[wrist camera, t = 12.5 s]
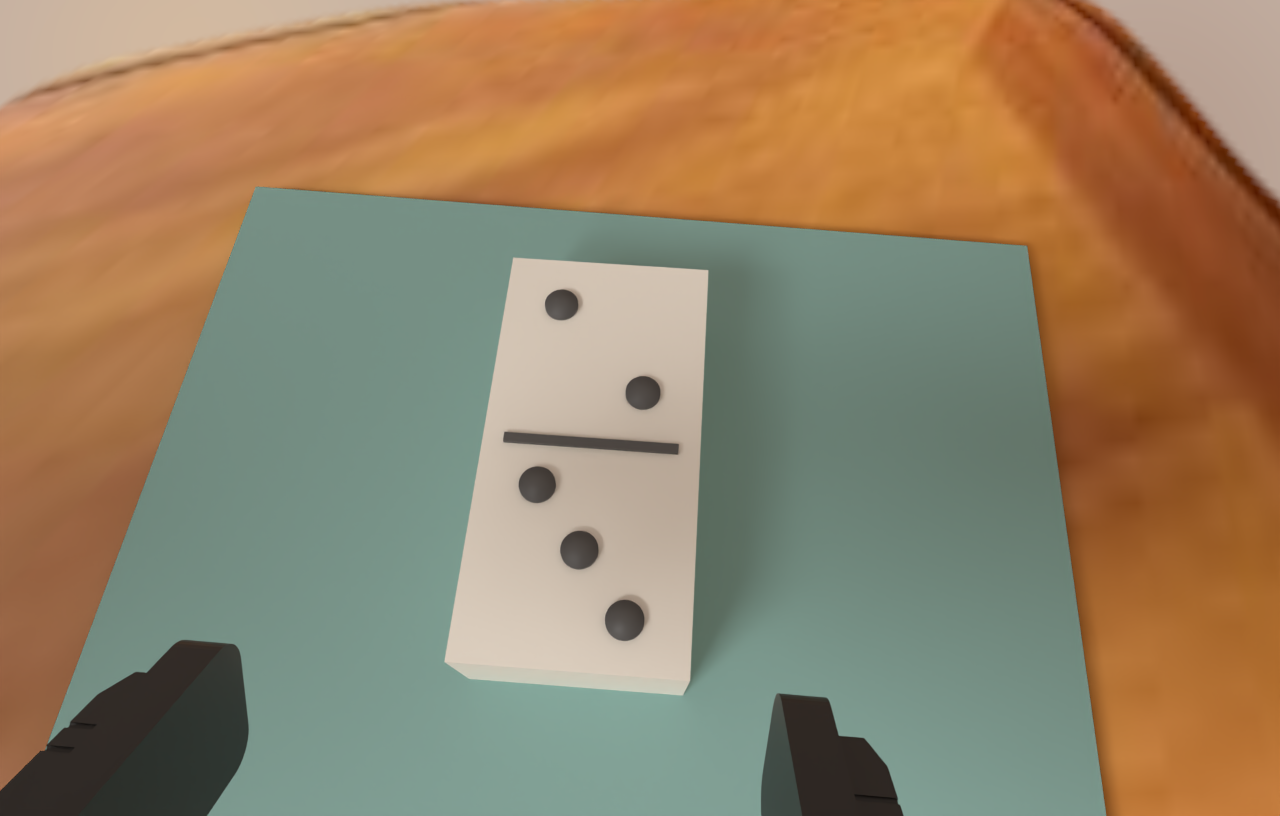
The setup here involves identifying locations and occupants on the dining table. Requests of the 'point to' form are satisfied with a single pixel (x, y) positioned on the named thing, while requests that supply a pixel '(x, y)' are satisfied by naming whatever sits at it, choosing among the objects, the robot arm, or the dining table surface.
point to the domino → (587, 483)
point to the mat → (726, 522)
